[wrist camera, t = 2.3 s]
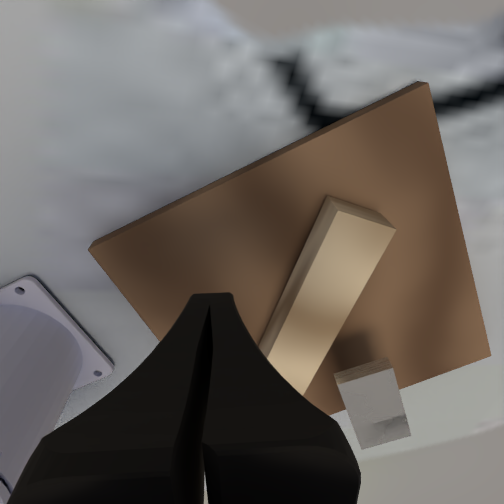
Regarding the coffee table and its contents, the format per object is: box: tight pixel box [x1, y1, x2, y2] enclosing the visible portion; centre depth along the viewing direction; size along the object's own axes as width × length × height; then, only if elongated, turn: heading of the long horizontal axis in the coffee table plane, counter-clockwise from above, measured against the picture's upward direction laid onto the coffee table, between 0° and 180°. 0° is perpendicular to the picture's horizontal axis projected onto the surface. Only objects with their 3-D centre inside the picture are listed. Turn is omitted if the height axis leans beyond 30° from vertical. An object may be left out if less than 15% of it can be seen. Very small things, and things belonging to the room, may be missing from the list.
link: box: [259, 196, 397, 396], centre depth 20 cm, size 14×3×3 cm, turn 161°
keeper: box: [334, 357, 411, 449], centre depth 23 cm, size 3×6×4 cm, turn 21°
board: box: [88, 81, 491, 416], centre depth 22 cm, size 18×18×1 cm
